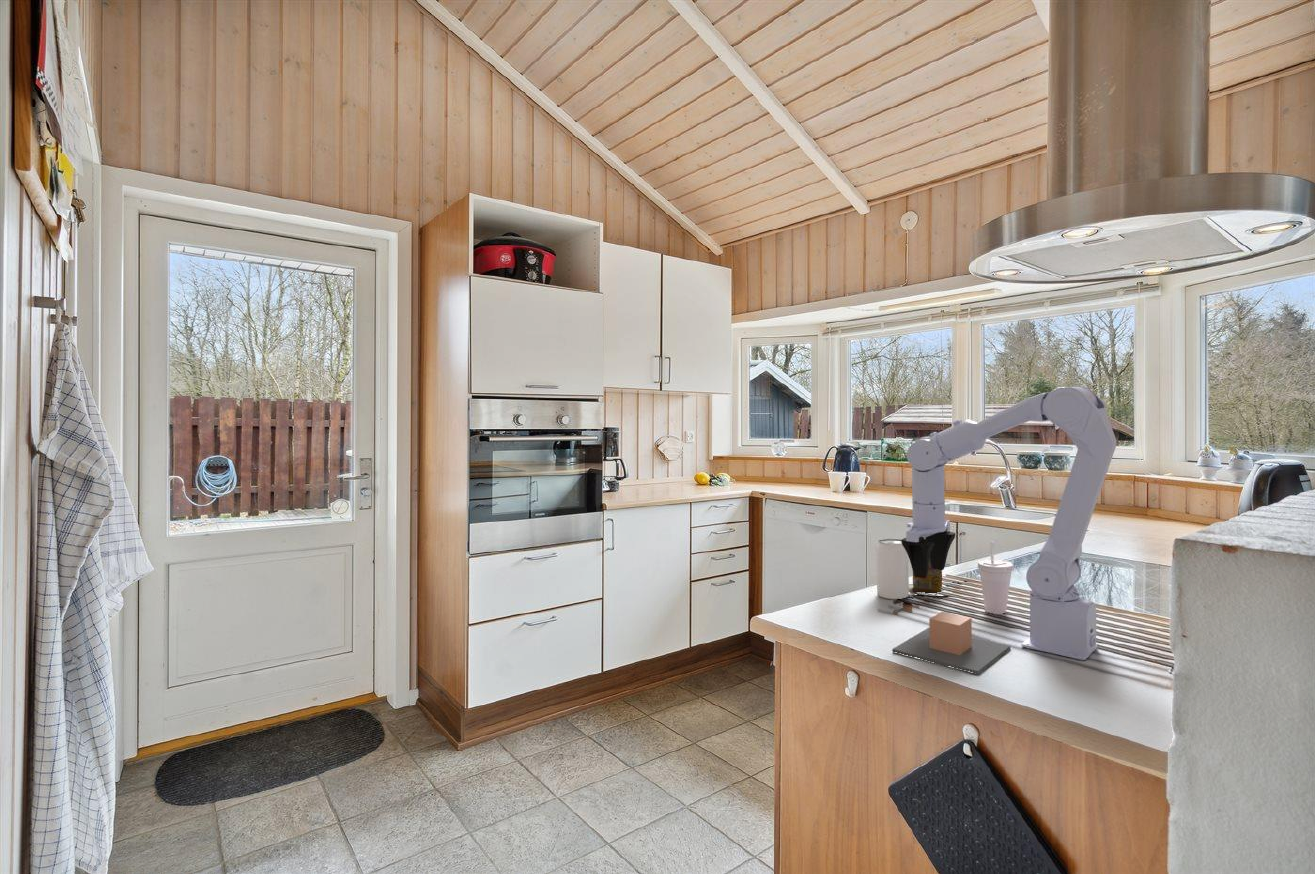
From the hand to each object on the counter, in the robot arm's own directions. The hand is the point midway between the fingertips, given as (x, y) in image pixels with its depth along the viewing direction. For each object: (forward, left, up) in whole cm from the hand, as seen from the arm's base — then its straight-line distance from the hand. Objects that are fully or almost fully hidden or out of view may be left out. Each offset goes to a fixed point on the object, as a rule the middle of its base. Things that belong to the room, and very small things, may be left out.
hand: (929, 573), depth 128 cm
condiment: (+9, -19, -10) cm, 23 cm away
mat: (-9, +12, -9) cm, 18 cm away
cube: (-9, +12, -9) cm, 17 cm away
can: (+13, -11, -10) cm, 20 cm away
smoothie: (-7, -14, -10) cm, 18 cm away
